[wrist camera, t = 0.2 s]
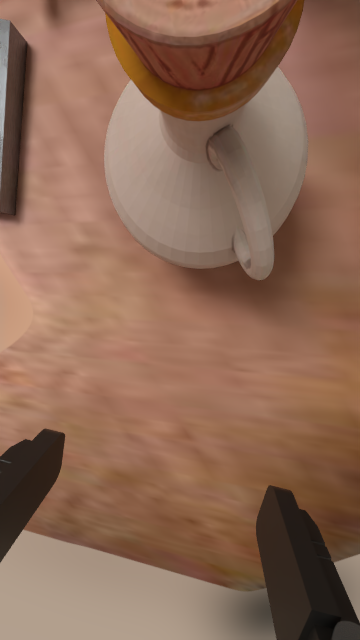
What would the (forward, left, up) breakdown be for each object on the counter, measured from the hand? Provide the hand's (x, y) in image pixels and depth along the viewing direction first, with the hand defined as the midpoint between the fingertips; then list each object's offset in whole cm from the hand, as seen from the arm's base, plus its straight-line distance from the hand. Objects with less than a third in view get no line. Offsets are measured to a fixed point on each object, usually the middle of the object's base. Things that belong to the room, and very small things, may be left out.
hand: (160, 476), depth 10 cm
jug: (-16, -2, -29) cm, 33 cm away
